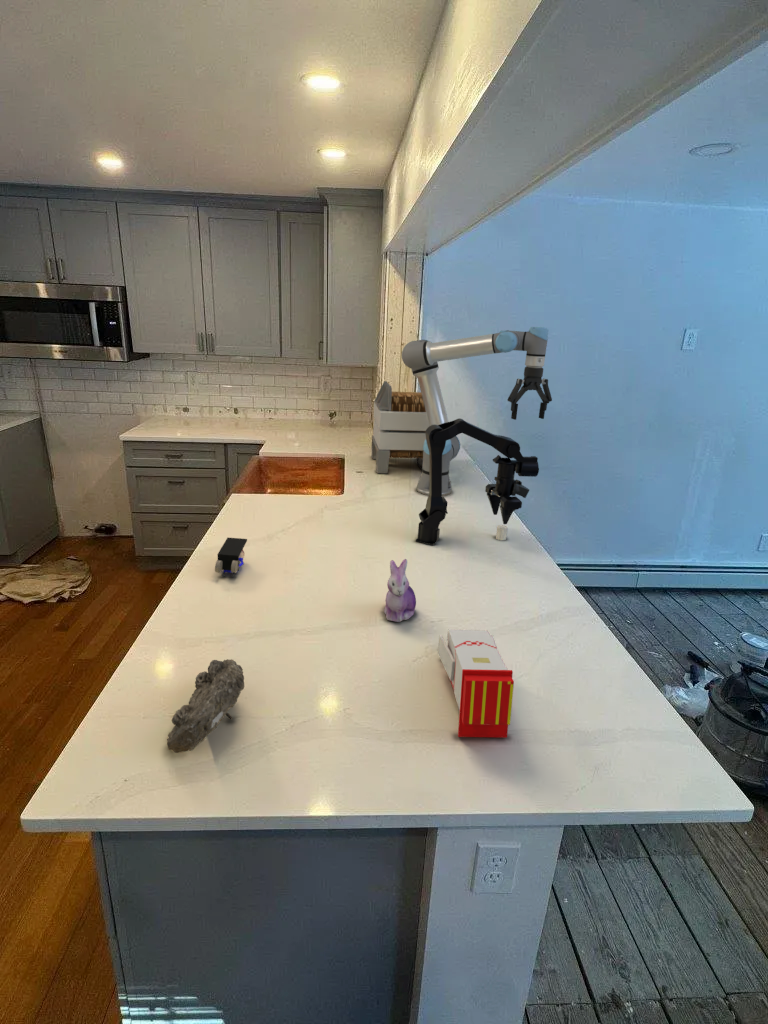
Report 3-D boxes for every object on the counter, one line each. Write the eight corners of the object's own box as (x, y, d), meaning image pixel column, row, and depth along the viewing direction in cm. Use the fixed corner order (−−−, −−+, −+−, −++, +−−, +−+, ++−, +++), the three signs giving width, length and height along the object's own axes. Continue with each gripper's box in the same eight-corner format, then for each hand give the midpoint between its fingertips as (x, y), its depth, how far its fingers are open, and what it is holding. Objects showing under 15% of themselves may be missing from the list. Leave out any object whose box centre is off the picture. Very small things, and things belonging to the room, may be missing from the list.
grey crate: (370, 456, 302) (373, 378, 288) (430, 457, 305) (436, 380, 292) (376, 473, 270) (380, 387, 256) (443, 474, 274) (450, 389, 260)
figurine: (392, 627, 141) (395, 572, 136) (374, 608, 149) (376, 556, 144) (425, 619, 145) (429, 566, 140) (405, 601, 154) (408, 550, 149)
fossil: (192, 660, 117) (244, 628, 112) (224, 691, 120) (276, 661, 115) (142, 746, 98) (202, 712, 93) (182, 779, 101) (242, 748, 96)
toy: (488, 613, 130) (523, 677, 101) (484, 667, 133) (517, 744, 104) (435, 612, 130) (455, 676, 101) (432, 666, 133) (451, 743, 103)
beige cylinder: (500, 541, 198) (501, 529, 196) (493, 537, 201) (495, 525, 199) (508, 539, 199) (509, 527, 198) (501, 536, 202) (503, 524, 201)
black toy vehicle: (238, 584, 162) (249, 557, 175) (236, 562, 158) (247, 536, 172) (215, 584, 161) (227, 556, 175) (212, 561, 158) (225, 535, 171)
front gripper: (539, 484, 183) (533, 528, 188) (517, 468, 200) (511, 509, 206) (507, 484, 181) (501, 529, 186) (487, 468, 198) (482, 510, 204)
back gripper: (512, 367, 223) (506, 421, 231) (565, 368, 232) (557, 419, 239) (502, 365, 230) (497, 417, 237) (554, 366, 238) (547, 416, 246)
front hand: (500, 519), depth 196 cm, fingers open, 9 cm apart
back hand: (527, 418), depth 238 cm, fingers open, 13 cm apart
